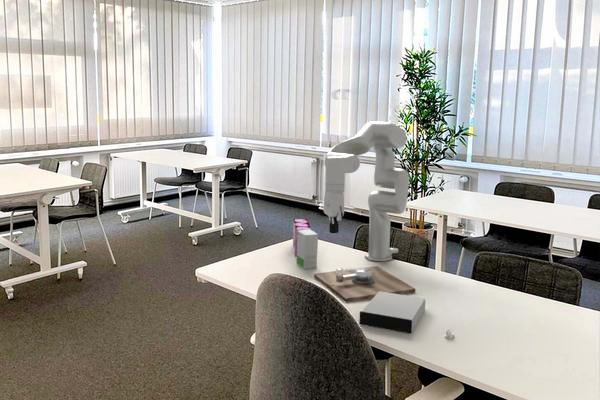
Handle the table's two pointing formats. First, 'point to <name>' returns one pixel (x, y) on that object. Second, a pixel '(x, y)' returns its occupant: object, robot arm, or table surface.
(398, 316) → the disc drive
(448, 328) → the adhesive hook
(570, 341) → the table surface
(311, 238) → the skincare box
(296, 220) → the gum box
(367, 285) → the mounting board
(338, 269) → the lock lever
